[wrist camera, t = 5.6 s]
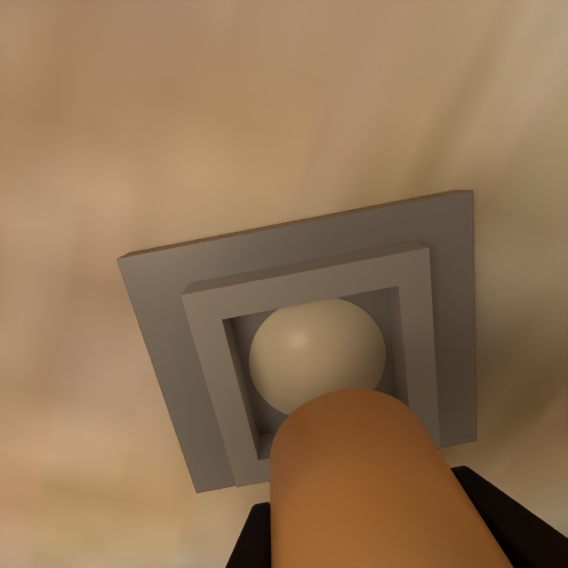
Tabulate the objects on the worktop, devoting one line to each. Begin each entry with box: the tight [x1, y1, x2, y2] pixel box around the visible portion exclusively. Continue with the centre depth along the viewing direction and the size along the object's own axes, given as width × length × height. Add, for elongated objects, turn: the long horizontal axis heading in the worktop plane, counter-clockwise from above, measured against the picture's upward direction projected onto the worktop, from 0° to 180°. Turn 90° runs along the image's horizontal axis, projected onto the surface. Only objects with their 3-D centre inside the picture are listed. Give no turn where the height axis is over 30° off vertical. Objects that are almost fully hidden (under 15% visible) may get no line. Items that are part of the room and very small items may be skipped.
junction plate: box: [117, 190, 477, 493], centre depth 14 cm, size 14×12×3 cm
